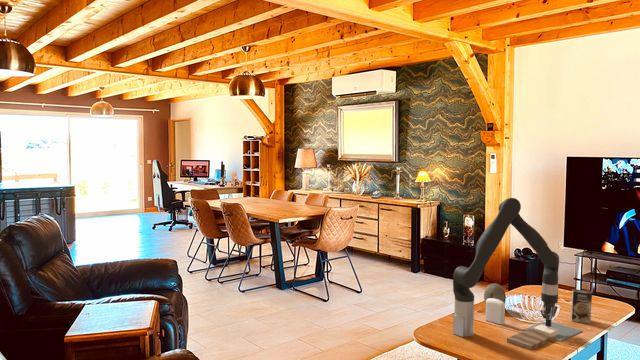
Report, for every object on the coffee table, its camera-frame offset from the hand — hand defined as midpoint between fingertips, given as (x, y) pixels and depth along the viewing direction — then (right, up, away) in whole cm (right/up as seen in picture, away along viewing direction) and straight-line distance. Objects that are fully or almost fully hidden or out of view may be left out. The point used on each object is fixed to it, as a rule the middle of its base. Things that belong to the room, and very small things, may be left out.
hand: (548, 326), depth 259 cm
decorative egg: (-15, -1, +36) cm, 39 cm away
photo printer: (-21, -2, +16) cm, 27 cm away
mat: (+4, -3, +3) cm, 6 cm away
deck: (-13, -4, -10) cm, 17 cm away
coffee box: (+25, -2, +18) cm, 31 cm away
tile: (-2, -3, -1) cm, 4 cm away
